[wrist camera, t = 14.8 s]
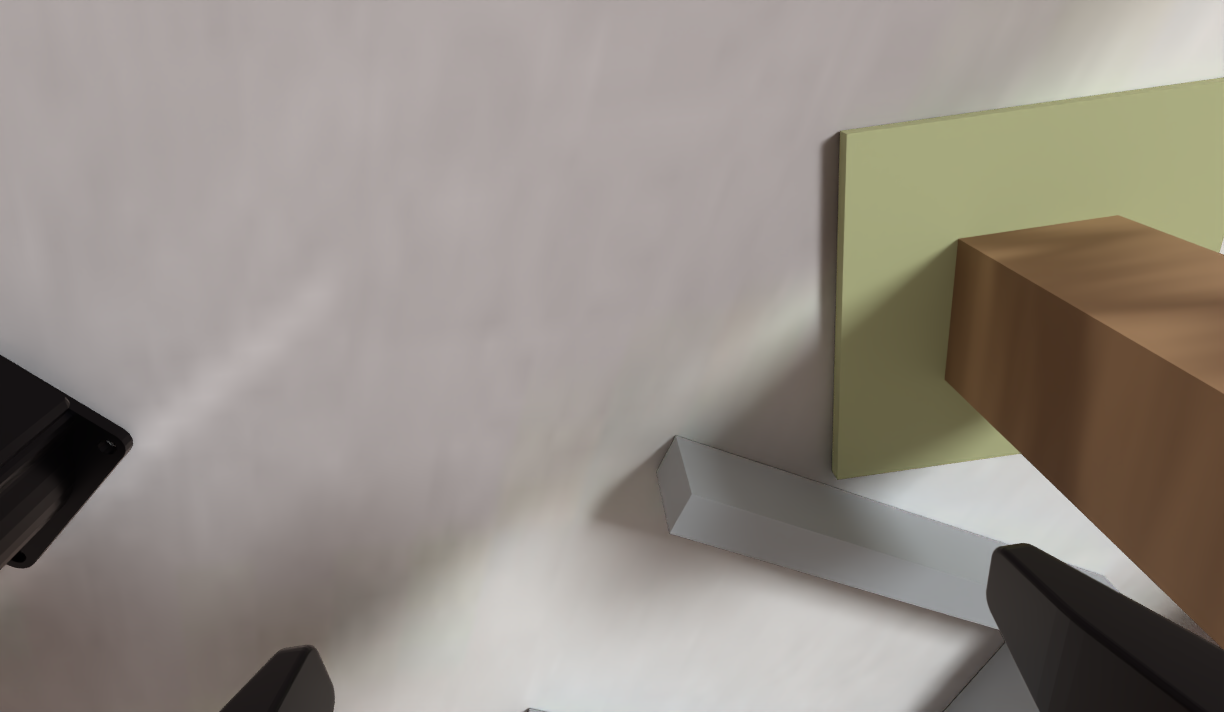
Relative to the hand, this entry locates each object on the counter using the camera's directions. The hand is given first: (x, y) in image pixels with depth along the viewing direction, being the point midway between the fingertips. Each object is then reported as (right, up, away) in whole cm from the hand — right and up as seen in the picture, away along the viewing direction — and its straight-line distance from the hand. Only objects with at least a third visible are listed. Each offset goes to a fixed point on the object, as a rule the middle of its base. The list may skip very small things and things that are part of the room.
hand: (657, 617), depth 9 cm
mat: (+11, +5, +12) cm, 17 cm away
